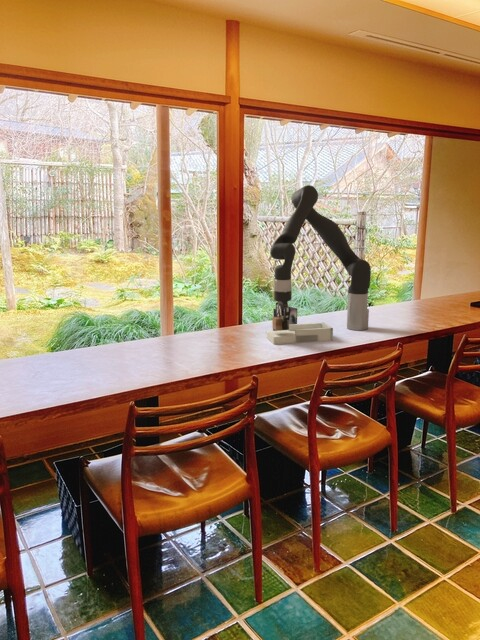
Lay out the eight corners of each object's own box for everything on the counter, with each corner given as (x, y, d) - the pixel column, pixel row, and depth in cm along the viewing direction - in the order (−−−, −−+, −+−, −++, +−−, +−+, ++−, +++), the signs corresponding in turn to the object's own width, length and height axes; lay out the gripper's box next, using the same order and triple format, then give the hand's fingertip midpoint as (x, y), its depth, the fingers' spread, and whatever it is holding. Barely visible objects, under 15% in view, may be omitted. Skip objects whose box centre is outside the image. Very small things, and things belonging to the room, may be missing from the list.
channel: (323, 334, 246) (323, 322, 245) (332, 340, 236) (332, 328, 234) (266, 337, 241) (266, 325, 240) (273, 344, 230) (273, 331, 229)
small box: (281, 332, 250) (282, 310, 248) (272, 330, 255) (272, 308, 253) (297, 329, 257) (298, 307, 255) (288, 327, 262) (288, 305, 260)
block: (285, 327, 238) (285, 316, 237) (289, 329, 233) (289, 318, 232) (272, 328, 237) (272, 317, 236) (275, 330, 232) (275, 319, 231)
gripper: (269, 287, 237) (270, 325, 241) (279, 292, 224) (279, 332, 227) (286, 286, 239) (285, 323, 243) (296, 291, 225) (296, 330, 229)
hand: (282, 327), depth 235 cm, fingers closed on block, 5 cm apart
